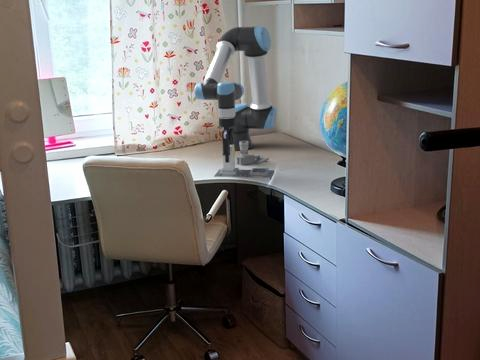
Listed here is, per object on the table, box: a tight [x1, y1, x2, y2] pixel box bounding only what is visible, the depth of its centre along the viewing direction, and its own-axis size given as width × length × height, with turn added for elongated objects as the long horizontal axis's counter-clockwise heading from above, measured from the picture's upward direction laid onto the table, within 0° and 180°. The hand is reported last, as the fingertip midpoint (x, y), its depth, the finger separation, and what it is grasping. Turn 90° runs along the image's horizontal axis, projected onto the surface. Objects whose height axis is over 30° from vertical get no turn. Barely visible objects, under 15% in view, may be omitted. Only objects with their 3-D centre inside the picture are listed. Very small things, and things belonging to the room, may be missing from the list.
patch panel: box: [213, 167, 275, 180], centre depth 292 cm, size 12×26×2 cm, turn 79°
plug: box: [221, 144, 236, 172], centre depth 291 cm, size 4×5×13 cm
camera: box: [236, 141, 270, 166], centre depth 310 cm, size 9×12×15 cm
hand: (229, 167), depth 292 cm, fingers closed on plug, 4 cm apart
